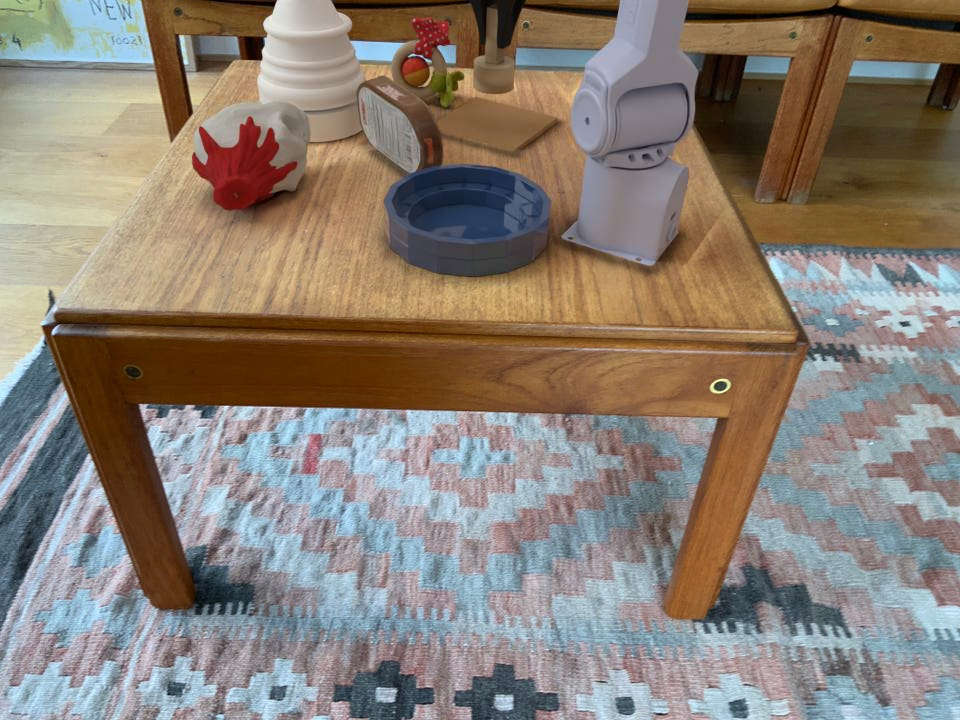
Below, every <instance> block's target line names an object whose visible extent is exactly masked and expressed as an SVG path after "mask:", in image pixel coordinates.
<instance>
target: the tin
mask: <svg viewBox="0 0 960 720" xmlns="http://www.w3.org/2000/svg"><path fill="white" fill-rule="evenodd" d="M356 95H357V103H358V111H359V119H360V125H361V128H362V130H361V131H362V133H363V135H364V137H365V139H366V140H367V142H368V144H369V146H371V147H373V148H374V149H375V150H376V151H378V152H379V153H380V154H381V155H383V156H384V157H385V158H387V159H388V160H389V161H390V162H392V163H393V164H395V165H396V166H397V167H398V168H400V169H402V170H403V171H404V172H406V173H407V174H409V173H412V172H416V171H419V170H423V169H426V168H429V167H433V166H443V165H442V164H443V159H444V145H443V139H442V134H441V131H439V127H438V124H437V122H436V121H437V119H436V117H435V115H434V114H433V112H432V110H431V108H430V107H429V106H428V104H427V103H426V102H425V101H424V99H420V98H419V97H417V96H415V95H414V94H412V93H411V92H409V91H408V90H406V89H405V88H403V87H402V86H400V85H399V84H397V83H396V82H394V80H393V79H391V78H390V77H389V76H387V75H378V76H377V77H375V78H370V79H366V81H364V82H362V83H361V84H360V85H359V87H358V89H357V93H356Z"/></svg>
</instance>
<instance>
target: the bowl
mask: <svg viewBox="0 0 960 720" xmlns="http://www.w3.org/2000/svg"><path fill="white" fill-rule="evenodd" d="M382 204H383V221H384V223H383V224H384V233H385V237H386V239H387V242H388V245H389V248H390V249H391V250H392V251H393V252H395V253H396V254H397V255H398V256H399V257H401V258H402V259H403V260H405V261H406V262H407V263H408V264H409V265H413V266H416V267H418V268H422V269H424V270H427V271H430V272H433V273H436V274H440V275H441V274H443V275H451V276H452V275H453V276H460V277H461V276H462V277H472V278H473V277H475V278H476V277H481V276H483V277H484V276H490V275H491V276H493V275H500V274H506V273H508V272H511V271H514V270H516V269H518V268H521V267H524V266H526V265H529V264H532V263H533V261H534V260H536V259H537V257H538V256H540V254H542V253H543V252H544V251H545V249H547V245H548V237H549V227H550V219H551V209H552V199H551V198H550V197H549V195H548V194H547V193H546V191H545V190H544V188H543V186H541V185H540V184H539V183H537V182H535V181H533V180H531V179H530V178H529V177H527V176H525V175H523V174H521V173H518V172H515V171H511V170H507V169H504V168H501V167H497V166H493V165H483V164H481V165H480V164H471V163H456V164H445V165H441V166H433V167H429V168H426V169H423V170H419V171H416V172H412V173H409V174H408V173H407V174H406V175H404V176H403V177H401V178H399V179H398V180H396V181H395V182H394V183H391V185H390V186H389V187H388V190H387V192H386V194H385V196H384V198H383V202H382Z"/></svg>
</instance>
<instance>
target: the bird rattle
mask: <svg viewBox="0 0 960 720" xmlns="http://www.w3.org/2000/svg"><path fill="white" fill-rule="evenodd" d="M410 24H411V26H412V28H413V30H414V33H415V34H416V36H417V38H418V39H414V40H410V41H407V42H405V43H403V44H402V45H401V46H399V48H398V49H397V50H396V51H395V52H394V54H393V56H392V59H391V63H390V71H391V72H390V73H391V77H392V80H393V81H394V82H396V83H397V84H399V85H400V86H402V87H403V88H405V89H406V90H408V91H409V92H411V93H412V94H414V95H415V96H417V97H419V98H420V99H421V100H426V99H429V98H431V97H433V96H435V95H436V97H437V98H438V99H439V100H440V101H439V102H440V105H441V107H443V108H445V109H446V108H448V106H449V105H450V104H451V103H453V102H454V101H455V94H454V93H453V92H456V91H458V90H459V82H460V81H464V80H465V74H464V72H462V71H461V70H454V71H452V72H449V71H448V67H447V62H446V59H445V57H444V55H443V53H442V51H440V49H439V48H438V47H439V46H442V47H447V46H450V44H451V38H450V36H449V29H450V22H449V21H448V20H445V21H443V20H442V21H436V20H435V19H433V18H432V17H430V16H429V17H426V18H421V17H413V18H411V20H410ZM411 55H412V56H411ZM426 60H428V61H431V63H430V64H428V62H427V61H426ZM432 66H433V71H432V75H431V69H430V67H432ZM430 75H431V77H430ZM429 78H430V80H429ZM428 81H429V82H428ZM427 82H428V84H427V85H425V84H426V83H427ZM424 85H425V86H424Z"/></svg>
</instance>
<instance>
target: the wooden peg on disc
mask: <svg viewBox="0 0 960 720" xmlns="http://www.w3.org/2000/svg"><path fill="white" fill-rule="evenodd" d="M497 24H498V13H497V4H493V5H491V6H489V7H487V17H486V42H485V45H484V46H485V47H484V55H483V54H482V55H479V56H476V57H475V58H474V59H473V77H472V79H473V80H472V87H473V89H474V90H476V91H477V92H479V93H482V94H487V95H504V94H508V93H510V92H512V91H513V90H514V88H515V75H516V74H515V73H516V61H515V59H513V58H512V57H510V56H507V55H506V48H504V49H500V48H497Z"/></svg>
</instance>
